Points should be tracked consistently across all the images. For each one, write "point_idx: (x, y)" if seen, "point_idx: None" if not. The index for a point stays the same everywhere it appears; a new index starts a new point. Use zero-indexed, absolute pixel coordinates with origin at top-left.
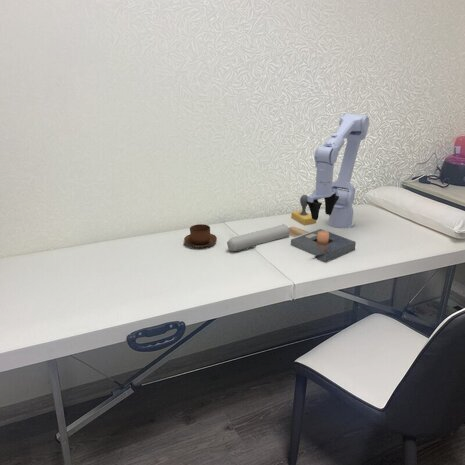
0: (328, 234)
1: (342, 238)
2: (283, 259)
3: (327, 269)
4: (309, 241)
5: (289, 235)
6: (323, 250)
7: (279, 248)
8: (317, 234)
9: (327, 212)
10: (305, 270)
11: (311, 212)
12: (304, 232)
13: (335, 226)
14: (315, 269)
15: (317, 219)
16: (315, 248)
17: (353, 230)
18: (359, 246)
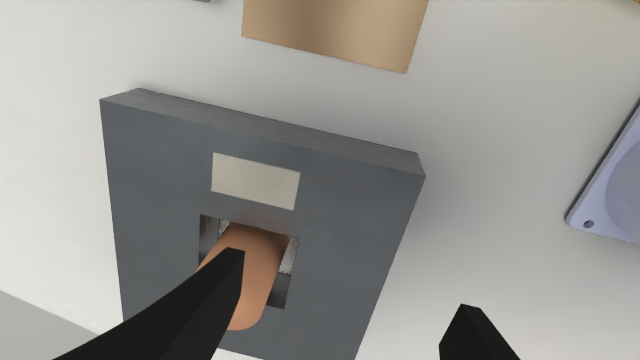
0: (230, 328)
1: (346, 329)
2: (8, 140)
3: (111, 313)
4: (174, 210)
5: (208, 2)
6: (144, 304)
7: (70, 38)
8: (201, 266)
9: (455, 342)
10: (34, 260)
11: (176, 298)
12: (376, 51)
13: (615, 198)
14: (73, 284)
15: (238, 298)
16: (130, 269)
17: (631, 277)
18: (397, 347)
